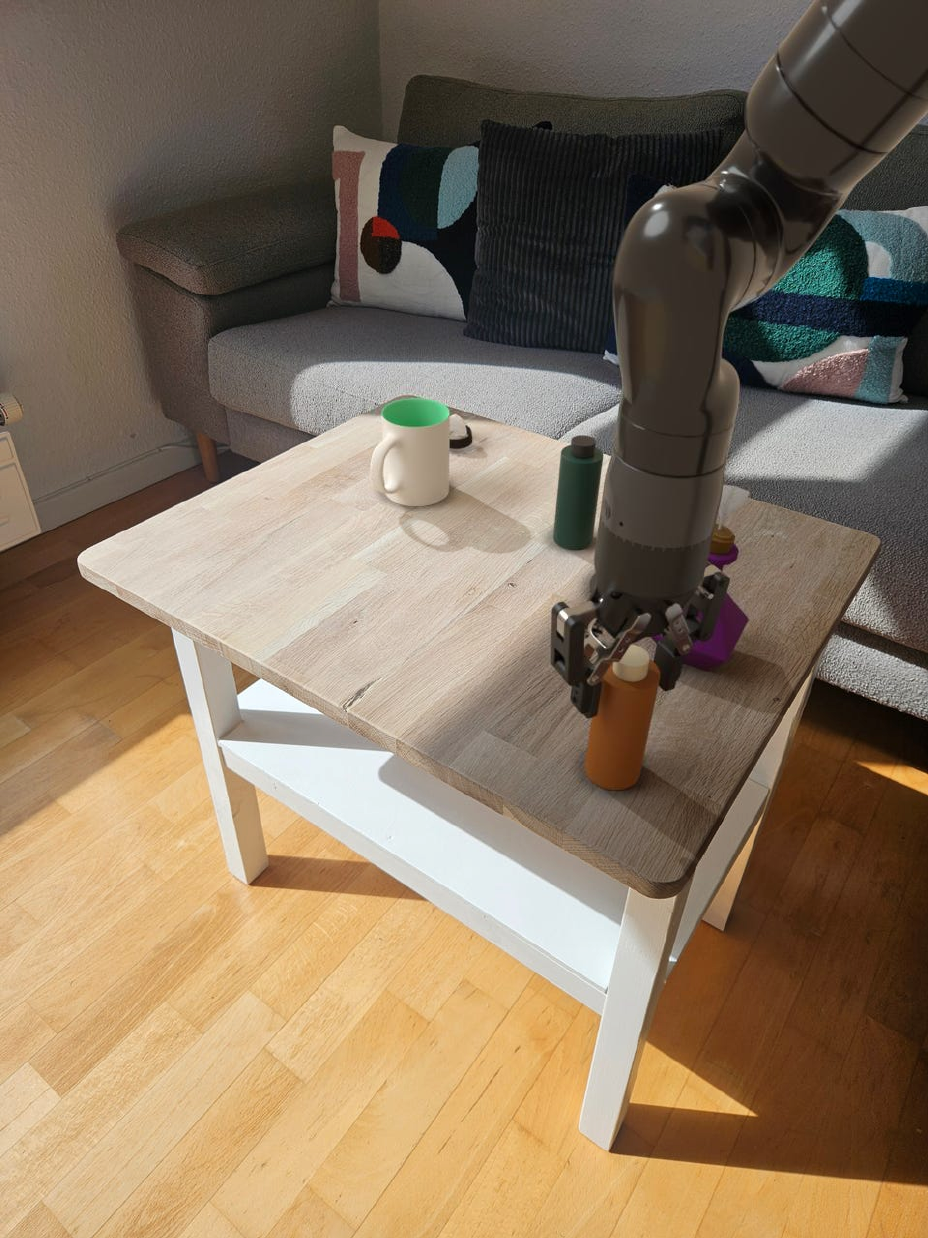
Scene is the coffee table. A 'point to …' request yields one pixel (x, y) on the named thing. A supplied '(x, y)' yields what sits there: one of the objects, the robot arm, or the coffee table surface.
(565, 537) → the green bottle
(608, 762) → the amber bottle
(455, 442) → the watch
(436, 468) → the mug
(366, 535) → the coffee table surface
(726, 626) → the perfume bottle
